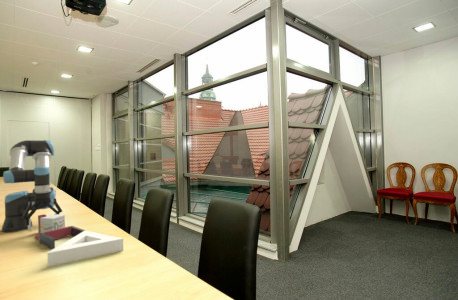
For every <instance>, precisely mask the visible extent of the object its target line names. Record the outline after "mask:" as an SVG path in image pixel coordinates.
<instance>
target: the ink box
mask: <svg viewBox="0 0 458 300" xmlns="http://www.w3.org/2000/svg"><path fill="white" fill-rule="evenodd" d="M54 214H55V215H54ZM54 214H50V215H46V217H43V218H40V224H41V233H44V232H47V231H51V230H55V229H60V228H64V227H66V215H65V214H59V215H58V214H56V213H54Z"/></svg>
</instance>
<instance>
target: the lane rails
mask: <svg viewBox="0 0 458 300" xmlns="http://www.w3.org/2000/svg"><path fill="white" fill-rule="evenodd" d="M83 231H86V230H85V229H82V228H80V227H77V226H74V225H70V236H72V238H73V237H75V236H77V235H78V234H80V233H82V232H83ZM38 234H39V239H38V241H39V244H40V245H43V246H45V247H47V248H49V249H51V250H53V249H55V248H56V242H55V240H56V239H55V238H53V237H51V236H48V235H46V234H44V233H40V232H39V233H38Z"/></svg>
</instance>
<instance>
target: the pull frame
mask: <svg viewBox="0 0 458 300" xmlns="http://www.w3.org/2000/svg"><path fill="white" fill-rule="evenodd" d="M46 216H47V214H39V215H38V216H37V220H38V221H37V222H38V223H37V224H38V227H37V228H38V233H37V234H35V235H34V237H35V238H36V239H38V240H39V234H40V233H41V224H40V218H43V217H46ZM70 226H71V225H70ZM70 226H68V225H67V226H65V227H64V228H60V229H55V230H51V231H47V232H44V234H46V235H48V236H51V237H53V238H55V240H58V239H62V238H66V237H70V236H71V235H70Z"/></svg>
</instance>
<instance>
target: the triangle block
mask: <svg viewBox="0 0 458 300" xmlns="http://www.w3.org/2000/svg"><path fill="white" fill-rule="evenodd" d="M121 251H124V238H122V237H117V236H112V235H109V234H104V233H103V234H102V233H98V232H93V231H89V230H85V231H83V232H82V233H80V234H78V235H77V236H75V237H73V236H72V237H71V238H70V239H68V240H66V241H65V242H64V243H62V244H60V245H59V246H57V247H55V248H54V249H51V250H50V251H48V252H47V267H52V266H57V265H62V264H66V263H72V262H76V261H80V260H85V258H86V259H90V258H94V257H95V258H96V257H99V256H103V255H108V254H112V253H116V252H121Z"/></svg>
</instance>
